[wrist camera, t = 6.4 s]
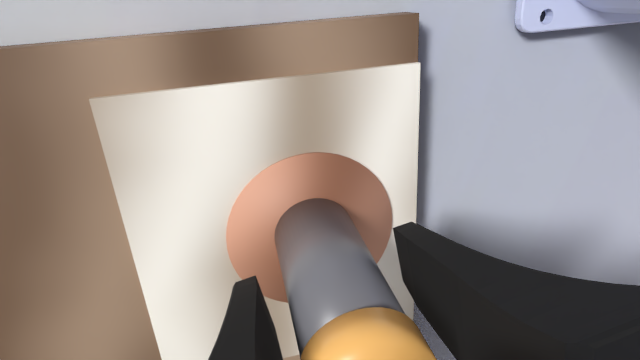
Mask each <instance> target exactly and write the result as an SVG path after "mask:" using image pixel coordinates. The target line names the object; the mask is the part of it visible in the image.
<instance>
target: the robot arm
mask: <svg viewBox="0 0 640 360" xmlns="http://www.w3.org/2000/svg"><path fill="white" fill-rule="evenodd" d="M543 11H545V18H544V20H543V21H542V23H541V22H540V16H541V13H542V12H543ZM635 22H640V0H517V4H516V13H515V25H516V27H517V29H518V30H520V31H521V32H527V33H536V32H546V31H556V30H566V29H576V28H586V27H596V26H606V25H616V24H625V23H635ZM393 232H394V237H395V242H396V247H397V253H398V258H399V263H400V269H401V274H402V279H403V282H404V284H405V286H406V287H407V289H408V291H409V293H410V295H411V297H412V298H413V300H414V302H415V303H416V305H417V307H418V308H419V310H420V311H421V313H422V314H423V315H424V317H425V318H426V319H427V321H428V322H429V323H430V325H431V326H432V327H433V329H434V330H435V331H436V333H437V334H438V335H439V337H440V338H441V339H442V341H443V342H444V343H445V345H446V346H447V347H448V349H449V350H450V351H451V353H452V354H453V355H454V357H455V358H456V359H457V360H640V286H636V285H622V284H612V283H604V282H597V281H589V280H583V279H577V278H571V277H565V276H560V275H556V274H551V273H546V272H542V271H538V270H533V269H530V268H526V267H523V266H519V265H516V264H512V263H509V262H506V261H502V260H499V259H496V258H494V257H491V256H488V255H486V254H483V253H480V252H478V251H475V250H473V249H470V248H468V247H465V246H463V245H461V244H458V243H456V242H454V241H452V240H449V239H447V238H445V237H443V236H441V235H439V234H437V233H435V232H432V231H430V230H428V229H426V228H424V227H422V226H420V225H418V224H416V223H414V222H409V223H406V224H403V225H400V226H397V227H394V228H393ZM208 360H283V357H282V353H281V349H280V345H279V341H278V337H277V333H276V329H275V326H274V323H273V320H272V318H271V315H270V312H269V310H268V307H267V304H266V302H265V299H264V296H263V294H262V291H261V288H260V286H259V283H258V280H257V278H256V275H255V276H252V277H249V278H246V279H244V280H241V281H238V282H235V284H234V286H233V289H232V293H231V297H230V301H229V304H228V308H227V311H226V314H225V317H224V320H223V323H222V326H221V329H220V332H219V335H218V337H217V340H216V342H215V345H214V347H213V349H212V352H211V354H210V356H209V359H208Z"/></svg>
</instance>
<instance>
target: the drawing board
mask: <svg viewBox="0 0 640 360" xmlns="http://www.w3.org/2000/svg"><path fill="white" fill-rule="evenodd" d="M418 36H419V13H410V12H402V13H390V14H378V15H366V16H355V17H343V18H331V19H319V20H307V21H296V22H284V23H272V24H260V25H248V26H237V27H225V28H213V29H201V30H189V31H178V32H166V33H154V34H142V35H130V36H119V37H107V38H95V39H83V40H71V41H60V42H48V43H36V44H24V45H12V46H0V360H208V359H209V356H210V354H211V352H212V349H213V347H214V345H215V342H216V340H217V337H218V335H219V332H220V329H221V326H222V323H223V320H224V317H225V314H226V311H227V308H228V304H229V301H230V297H231V293H232V289H233V286H234V284H235V282H238V281H241V280H244V279H246V278H249V277H252V276H255V275H256V278H257V280H258V283H259V286H260V288H261V291H262V294H263V296H264V299H265V302H266V304H267V307H268V310H269V312H270V315H271V318H272V320H273V323H274V326H275V329H276V333H277V337H278V341H279V345H280V349H281V353H282V357H283V360H300V354H299V350H298V345H297V341H296V336H295V331H294V327H293V322H292V318H291V313H290V309H289V304H288V300H287V295H286V291H285V286H284V281H283V277H282V272H281V268H280V263H279V259H278V254H277V250H276V245H275V239H274V236H275V229H276V226H277V223H278V221H279V219H280V218H281V216H282V215H283V214H284V213H285V212H286V211H287V210H288V209H289V208H290V207H292V206H293V205H295V204H297V203H299V202H301V201H304V200H307V199H313V198H323V199H328V200H331V201H334V202H336V203H338V204H339V205H341V206H342V207H343V208H344V209H345V210H346V211H347V213H348V214H349V216H350V218H351V220H352V221H353V223H354V225H355V227H356V228H357V230H358V232H359V234H360V235H361V237H362V239H363V241H364V242H365V244H366V246H367V248H368V249H369V251H370V253H371V255H372V257H373V258H374V260H375V262H376V264H377V265H378V267H379V269H380V271H381V272H382V274H383V276H384V278H385V279H386V281H387V283H388V285H389V286H390V288H391V290H392V292H393V293H394V295H395V297H396V299H397V300H398V302H399V304H400V306H401V307H402V309H403V311H404V313H405V314H406V316H408V317H409V318H410V319H411V320H412V321H413V315H414V300H413V298H412V297H411V295H410V293H409V291H408V289H407V287H406V286H405V284H404V282H403V279H402V274H401V269H400V263H399V258H398V253H397V247H396V242H395V237H394V232H393V228H394V227H397V226H400V225H403V224H406V223H409V222H414V223H416V208H417V172H418V136H419V100H420V64H421V63H419V62H418Z"/></svg>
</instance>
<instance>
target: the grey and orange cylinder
mask: <svg viewBox="0 0 640 360" xmlns="http://www.w3.org/2000/svg"><path fill="white" fill-rule="evenodd" d="M274 239H275V245H276V250H277V254H278V259H279V263H280V268H281V272H282V277H283V281H284V286H285V291H286V295H287V300H288V304H289V309H290V313H291V318H292V322H293V327H294V331H295V336H296V341H297V345H298V350H299V354H300V360H437V359H436V358H435V356H434V354H433V352H432V351H431V349H430V347H429V346H428V344H427V342H426V340H425V339H424V337H423V335H422V334H421V332H420V330H419V329H418V327H417V325H416V324H415V323H414V321H412V320H411V319H410V318H409V317H408V316H406V314H405V313H404V311H403V309H402V307H401V306H400V304H399V302H398V300H397V299H396V297H395V295H394V293H393V292H392V290H391V288H390V286H389V285H388V283H387V281H386V279H385V278H384V276H383V274H382V272H381V271H380V269H379V267H378V265H377V264H376V262H375V260H374V258H373V257H372V255H371V253H370V251H369V249H368V248H367V246H366V244H365V242H364V241H363V239H362V237H361V235H360V234H359V232H358V230H357V228H356V227H355V225H354V223H353V221H352V220H351V218H350V216H349V214H348V213H347V211H346V210H345V209H344V208H343V207H342V206H341V205H339V204H338V203H336V202H334V201H331V200H328V199H323V198H313V199H307V200H304V201H301V202H299V203H297V204H295V205H293V206H292V207H290V208H289V209H288V210H287V211H286V212H285V213H284V214H283V215H282V216H281V218H280V219H279V221H278V223H277V226H276V229H275V236H274Z"/></svg>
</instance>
